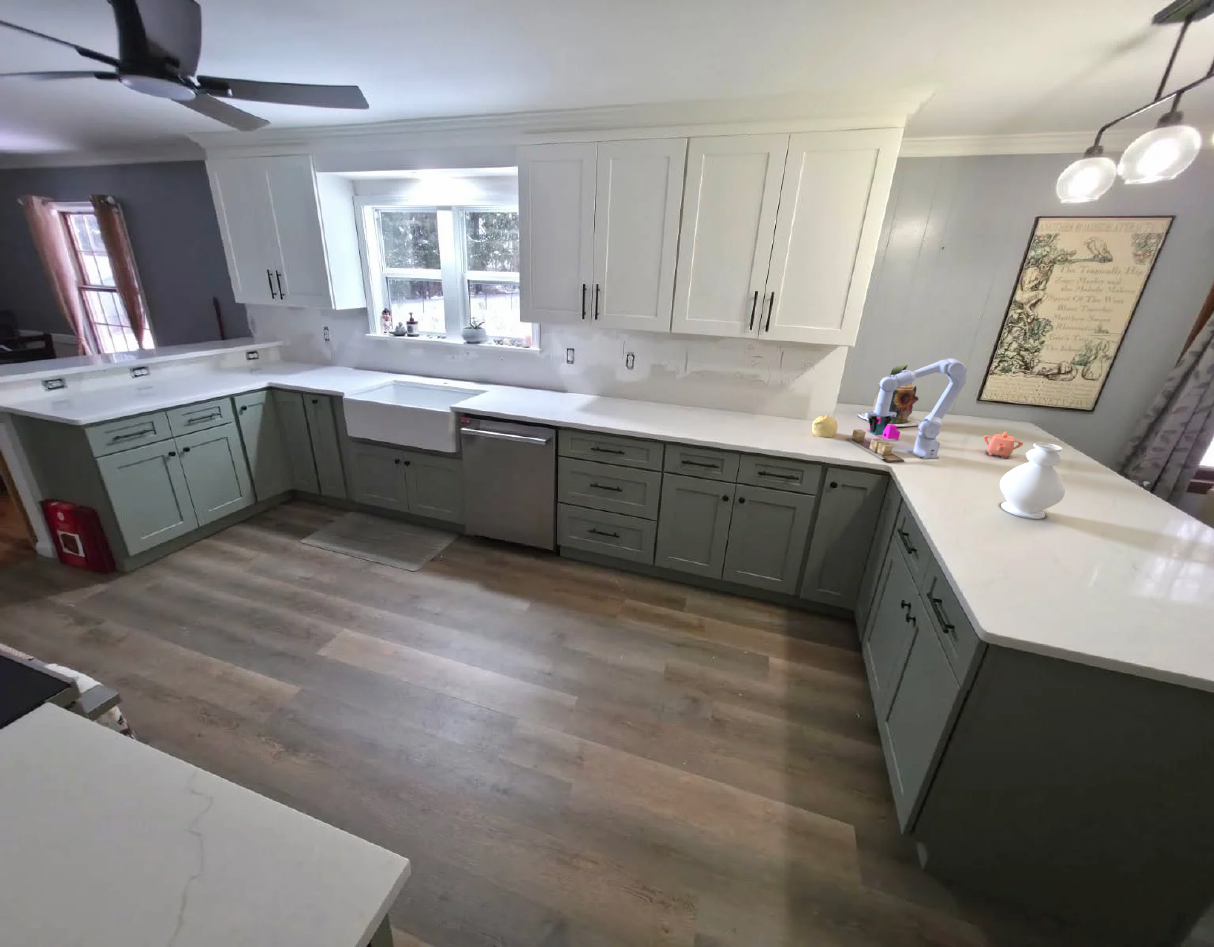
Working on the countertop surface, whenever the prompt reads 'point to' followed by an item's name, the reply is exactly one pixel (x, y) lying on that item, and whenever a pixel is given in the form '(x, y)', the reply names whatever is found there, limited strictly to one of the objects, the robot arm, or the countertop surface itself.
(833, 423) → the pale yellow lumpy ball
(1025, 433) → the countertop surface
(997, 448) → the teapot
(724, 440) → the countertop surface
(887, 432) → the toy block
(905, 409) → the cookie jar
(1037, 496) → the decorative vase
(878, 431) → the teal cube
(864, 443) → the board
